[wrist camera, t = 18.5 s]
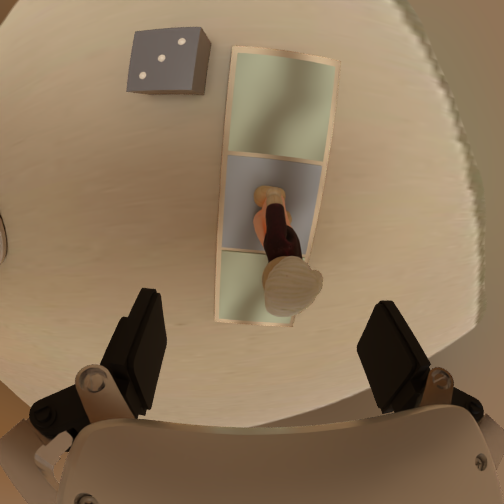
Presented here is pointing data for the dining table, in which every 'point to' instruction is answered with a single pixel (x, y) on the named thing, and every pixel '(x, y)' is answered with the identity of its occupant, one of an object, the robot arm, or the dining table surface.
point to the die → (169, 61)
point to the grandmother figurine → (283, 257)
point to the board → (270, 166)
